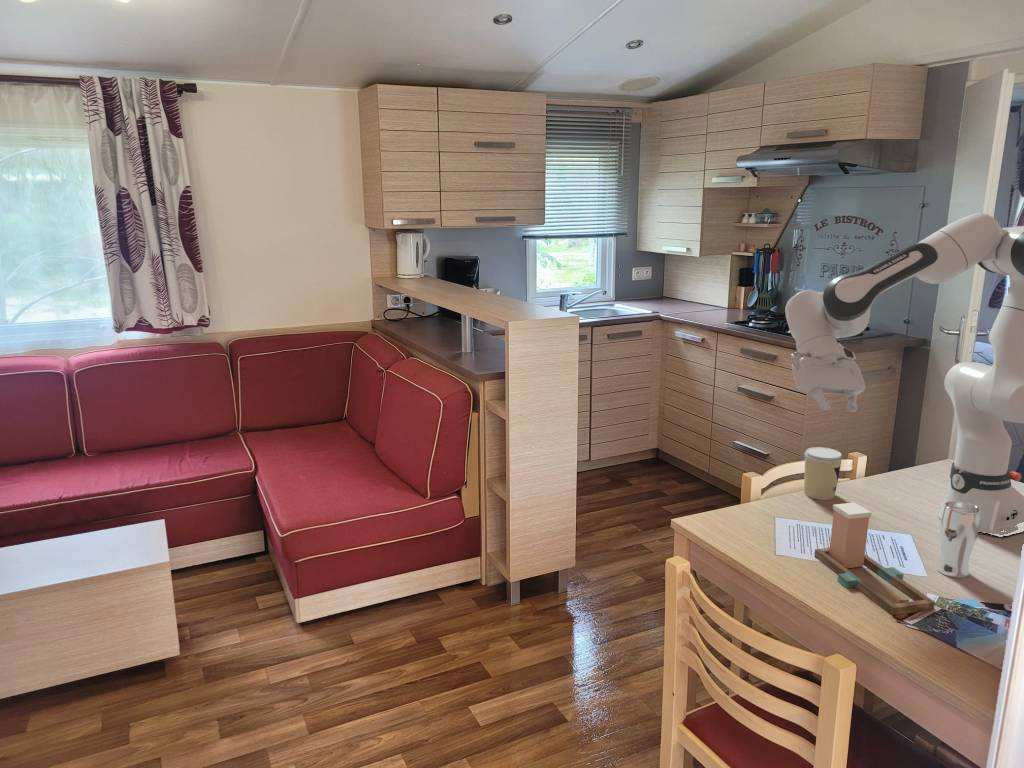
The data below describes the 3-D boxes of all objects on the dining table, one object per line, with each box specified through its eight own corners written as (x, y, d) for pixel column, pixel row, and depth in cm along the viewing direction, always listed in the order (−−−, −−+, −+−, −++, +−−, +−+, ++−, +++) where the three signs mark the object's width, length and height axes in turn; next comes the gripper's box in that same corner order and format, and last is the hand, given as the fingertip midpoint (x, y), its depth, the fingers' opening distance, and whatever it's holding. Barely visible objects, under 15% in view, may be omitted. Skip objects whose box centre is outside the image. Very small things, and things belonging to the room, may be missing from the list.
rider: (848, 555, 168) (854, 502, 165) (864, 566, 163) (871, 512, 160) (827, 557, 167) (833, 504, 163) (842, 569, 162) (849, 514, 158)
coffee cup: (841, 502, 197) (846, 459, 194) (803, 499, 199) (808, 457, 196) (833, 489, 206) (838, 447, 203) (798, 486, 207) (802, 445, 204)
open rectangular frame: (858, 550, 170) (859, 544, 170) (942, 608, 147) (943, 600, 146) (806, 556, 168) (807, 550, 167) (883, 616, 144) (884, 609, 144)
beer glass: (970, 582, 156) (981, 516, 153) (932, 573, 160) (942, 509, 156) (971, 568, 162) (982, 504, 158) (934, 560, 166) (944, 497, 162)
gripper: (800, 344, 166) (820, 401, 161) (859, 353, 176) (880, 406, 171) (779, 357, 171) (797, 413, 166) (837, 365, 181) (857, 417, 175)
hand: (840, 409), depth 168 cm, fingers open, 8 cm apart
